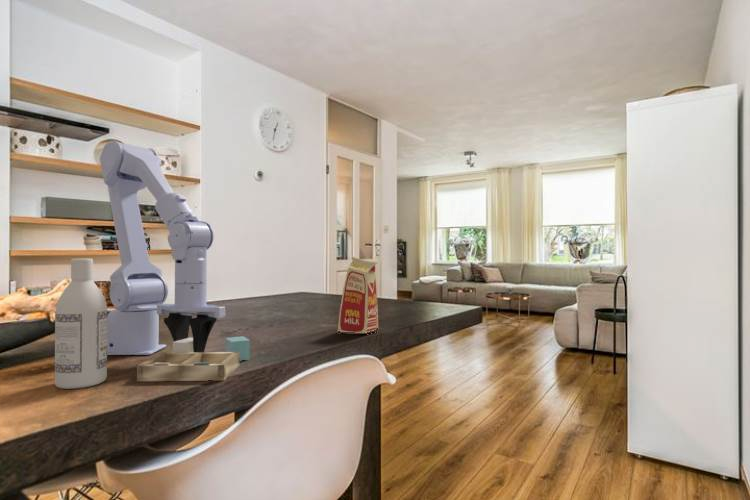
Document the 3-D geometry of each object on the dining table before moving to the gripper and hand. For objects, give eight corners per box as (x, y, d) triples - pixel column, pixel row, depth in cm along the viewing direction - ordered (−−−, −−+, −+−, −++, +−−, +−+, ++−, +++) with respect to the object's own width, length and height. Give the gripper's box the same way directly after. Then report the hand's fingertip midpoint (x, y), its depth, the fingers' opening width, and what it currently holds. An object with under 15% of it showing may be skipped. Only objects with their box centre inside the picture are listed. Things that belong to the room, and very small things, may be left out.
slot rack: (136, 381, 72) (137, 364, 72) (162, 366, 81) (162, 350, 81) (224, 380, 72) (224, 363, 72) (239, 365, 82) (239, 350, 82)
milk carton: (337, 333, 114) (337, 256, 114) (352, 327, 123) (352, 256, 123) (369, 335, 111) (370, 256, 111) (382, 329, 120) (383, 256, 120)
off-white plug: (187, 364, 82) (188, 343, 82) (172, 363, 83) (172, 341, 83) (207, 357, 88) (208, 337, 88) (193, 356, 89) (193, 336, 89)
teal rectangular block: (249, 360, 86) (249, 340, 86) (231, 362, 84) (231, 341, 84) (241, 354, 91) (241, 335, 91) (224, 356, 89) (224, 337, 89)
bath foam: (98, 374, 75) (98, 258, 75) (113, 382, 71) (114, 258, 71) (49, 383, 70) (49, 258, 70) (62, 393, 66) (63, 259, 66)
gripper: (144, 283, 84) (144, 354, 84) (208, 285, 80) (208, 360, 79) (171, 281, 91) (171, 347, 91) (232, 282, 86) (231, 352, 86)
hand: (190, 353), depth 85 cm, fingers closed on off-white plug, 3 cm apart
